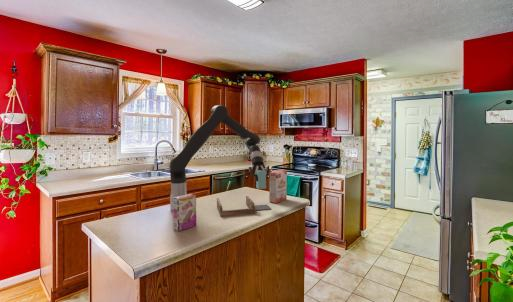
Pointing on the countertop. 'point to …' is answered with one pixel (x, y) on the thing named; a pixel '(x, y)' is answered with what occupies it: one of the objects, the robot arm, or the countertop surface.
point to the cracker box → (278, 186)
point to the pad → (262, 207)
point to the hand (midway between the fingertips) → (261, 180)
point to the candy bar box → (184, 212)
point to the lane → (239, 211)
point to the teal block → (261, 179)
